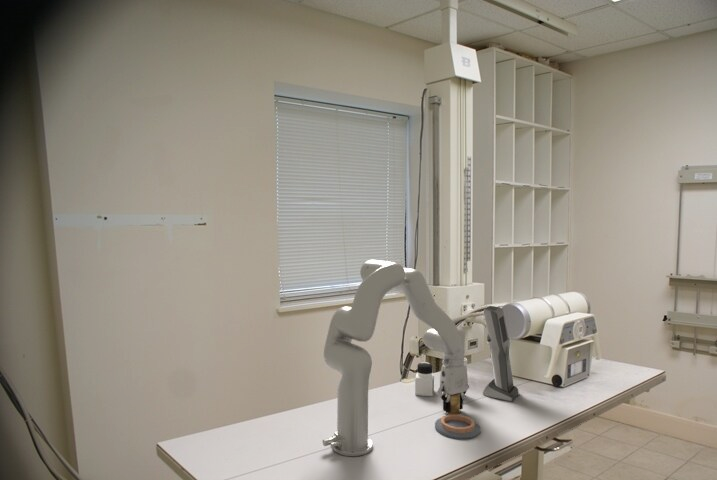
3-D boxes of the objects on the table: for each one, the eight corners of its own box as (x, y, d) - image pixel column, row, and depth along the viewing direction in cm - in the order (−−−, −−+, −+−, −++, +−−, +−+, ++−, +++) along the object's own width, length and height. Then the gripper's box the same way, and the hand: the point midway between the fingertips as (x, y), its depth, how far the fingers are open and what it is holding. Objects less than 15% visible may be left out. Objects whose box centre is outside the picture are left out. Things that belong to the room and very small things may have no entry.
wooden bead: (452, 416, 165) (452, 396, 164) (443, 411, 169) (443, 392, 169) (462, 413, 167) (462, 394, 167) (453, 408, 172) (453, 389, 171)
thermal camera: (488, 386, 194) (489, 305, 193) (519, 392, 188) (521, 308, 186) (480, 395, 184) (481, 309, 183) (512, 402, 178) (514, 313, 176)
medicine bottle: (433, 396, 183) (433, 367, 182) (415, 395, 184) (415, 365, 184) (433, 390, 190) (434, 361, 189) (416, 388, 191) (416, 360, 190)
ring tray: (456, 443, 144) (456, 435, 144) (425, 424, 157) (425, 417, 157) (489, 432, 152) (490, 425, 152) (458, 415, 165) (458, 408, 165)
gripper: (442, 367, 160) (441, 418, 160) (478, 360, 168) (477, 408, 169) (428, 361, 166) (428, 410, 167) (463, 355, 175) (462, 401, 176)
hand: (452, 409), depth 168 cm, fingers open, 5 cm apart
